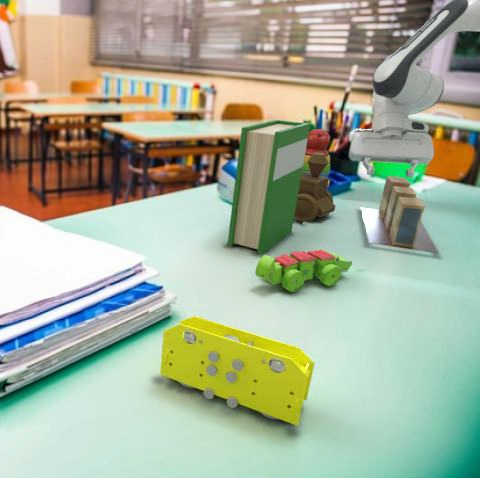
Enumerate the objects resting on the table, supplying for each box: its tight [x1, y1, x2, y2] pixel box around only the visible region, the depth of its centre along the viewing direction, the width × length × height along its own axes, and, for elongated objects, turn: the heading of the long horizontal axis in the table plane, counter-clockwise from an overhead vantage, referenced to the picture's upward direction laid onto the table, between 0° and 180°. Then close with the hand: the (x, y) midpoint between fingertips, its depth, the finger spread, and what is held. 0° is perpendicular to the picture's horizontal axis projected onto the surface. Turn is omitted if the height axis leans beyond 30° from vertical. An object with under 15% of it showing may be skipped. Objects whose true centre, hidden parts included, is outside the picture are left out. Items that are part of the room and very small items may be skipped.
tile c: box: [378, 175, 411, 217], centre depth 121 cm, size 4×6×9 cm, turn 164°
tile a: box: [384, 186, 417, 230], centre depth 112 cm, size 4×6×9 cm, turn 159°
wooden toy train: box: [294, 153, 336, 223], centre depth 121 cm, size 20×11×17 cm, turn 47°
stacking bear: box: [302, 128, 331, 178], centre depth 143 cm, size 11×10×18 cm
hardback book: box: [226, 119, 311, 256], centre depth 102 cm, size 18×7×24 cm, turn 143°
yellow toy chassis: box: [159, 315, 315, 426], centre depth 56 cm, size 16×6×8 cm, turn 60°
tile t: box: [389, 196, 425, 248], centre depth 103 cm, size 4×6×9 cm, turn 158°
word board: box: [360, 207, 439, 254], centre depth 114 cm, size 13×28×1 cm, turn 159°
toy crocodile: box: [254, 249, 353, 293], centre depth 85 cm, size 20×7×6 cm, turn 111°
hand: (390, 175), depth 130 cm, fingers open, 8 cm apart
